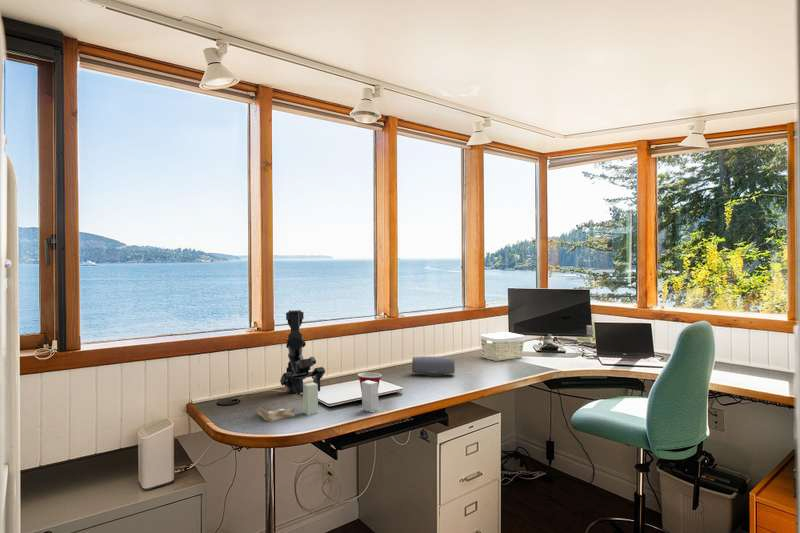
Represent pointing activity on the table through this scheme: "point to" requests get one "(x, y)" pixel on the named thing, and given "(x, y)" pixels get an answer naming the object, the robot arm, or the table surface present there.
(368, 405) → the skincare box
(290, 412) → the beige flat l-shaped piece
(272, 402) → the table surface
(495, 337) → the storage basket
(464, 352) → the table surface
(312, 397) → the sage block
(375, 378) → the plastic cup
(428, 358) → the bluetooth speaker
